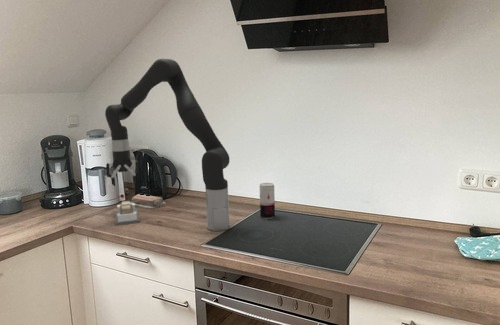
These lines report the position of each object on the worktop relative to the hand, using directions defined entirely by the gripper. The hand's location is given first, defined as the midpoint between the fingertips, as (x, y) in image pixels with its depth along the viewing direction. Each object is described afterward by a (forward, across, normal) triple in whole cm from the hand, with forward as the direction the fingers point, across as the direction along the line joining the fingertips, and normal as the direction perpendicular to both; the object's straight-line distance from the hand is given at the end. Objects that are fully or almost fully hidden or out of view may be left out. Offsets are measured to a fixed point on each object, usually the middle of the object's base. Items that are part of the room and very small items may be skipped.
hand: (124, 184), depth 182 cm
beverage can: (+17, +60, -25) cm, 67 cm away
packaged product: (+16, +10, +19) cm, 27 cm away
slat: (+15, 0, 0) cm, 15 cm away
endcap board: (+16, 0, 0) cm, 16 cm away
